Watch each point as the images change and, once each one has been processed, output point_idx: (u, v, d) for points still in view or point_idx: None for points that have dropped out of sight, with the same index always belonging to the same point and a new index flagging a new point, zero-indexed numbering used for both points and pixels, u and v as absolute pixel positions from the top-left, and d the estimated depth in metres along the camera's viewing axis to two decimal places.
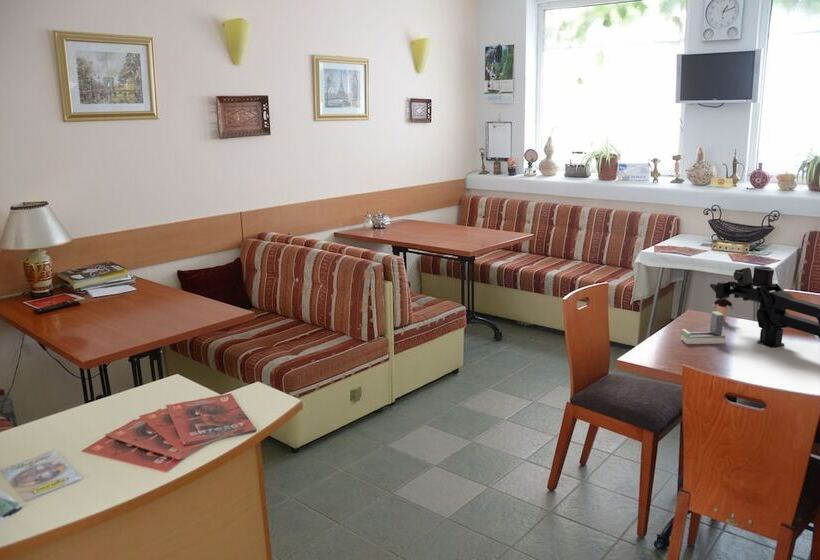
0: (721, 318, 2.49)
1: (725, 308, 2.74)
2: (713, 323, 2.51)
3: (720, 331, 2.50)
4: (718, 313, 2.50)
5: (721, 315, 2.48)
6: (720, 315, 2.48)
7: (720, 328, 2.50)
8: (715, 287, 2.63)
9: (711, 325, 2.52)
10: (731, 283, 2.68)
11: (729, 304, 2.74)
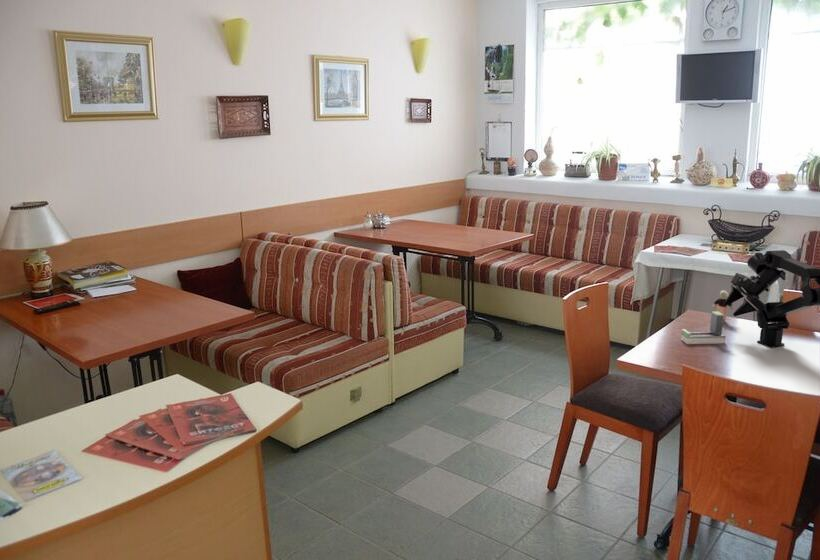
0: (721, 318, 2.49)
1: (725, 308, 2.74)
2: (713, 323, 2.51)
3: (720, 331, 2.50)
4: (718, 313, 2.50)
5: (721, 315, 2.48)
6: (720, 315, 2.48)
7: (720, 328, 2.50)
8: (742, 310, 2.48)
9: (711, 325, 2.52)
10: (728, 301, 2.58)
11: (729, 304, 2.74)
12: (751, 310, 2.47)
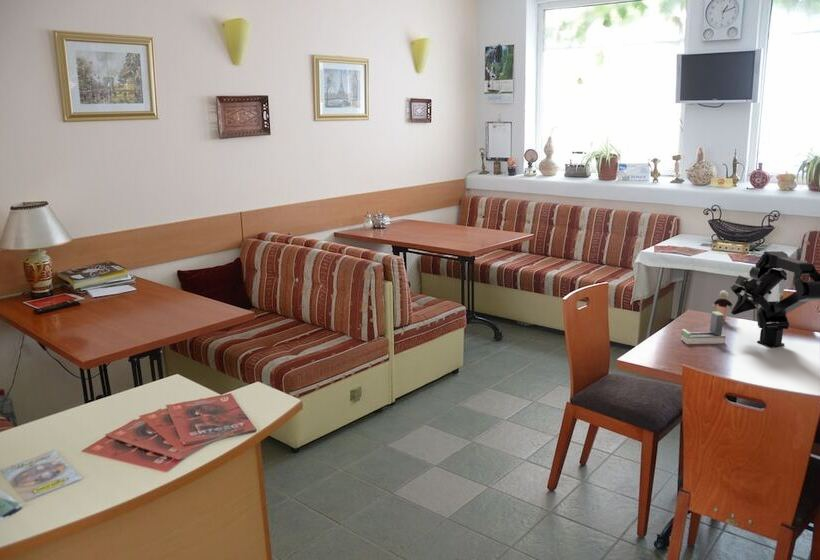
0: (721, 318, 2.49)
1: (725, 308, 2.74)
2: (713, 323, 2.51)
3: (720, 331, 2.50)
4: (718, 313, 2.50)
5: (721, 315, 2.48)
6: (720, 315, 2.48)
7: (720, 328, 2.50)
8: (741, 308, 2.49)
9: (711, 325, 2.52)
10: None
11: (729, 304, 2.74)
12: (750, 308, 2.48)
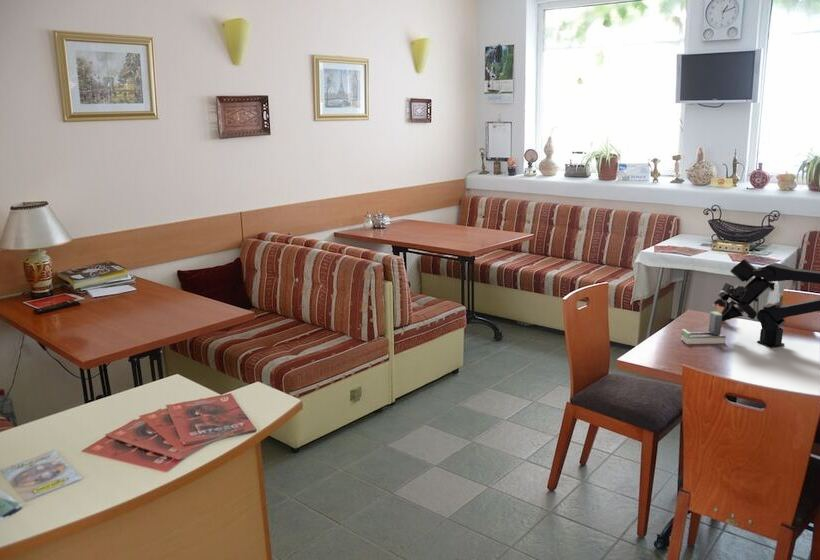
0: (720, 318, 2.49)
1: None
2: (711, 323, 2.51)
3: (719, 331, 2.50)
4: (717, 313, 2.50)
5: (720, 315, 2.48)
6: (719, 315, 2.48)
7: (719, 328, 2.50)
8: (728, 315, 2.50)
9: (710, 325, 2.52)
10: (722, 317, 2.51)
11: None
12: (736, 315, 2.49)
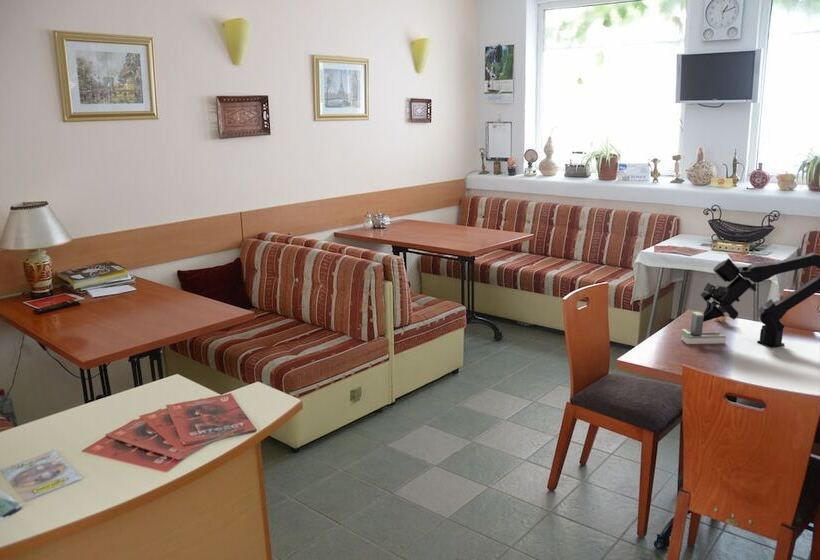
0: (701, 318, 2.48)
1: None
2: (693, 323, 2.51)
3: (700, 331, 2.49)
4: (698, 313, 2.49)
5: (701, 315, 2.48)
6: (700, 315, 2.48)
7: (700, 328, 2.49)
8: (710, 315, 2.49)
9: (692, 325, 2.52)
10: (704, 317, 2.51)
11: None
12: (718, 315, 2.48)
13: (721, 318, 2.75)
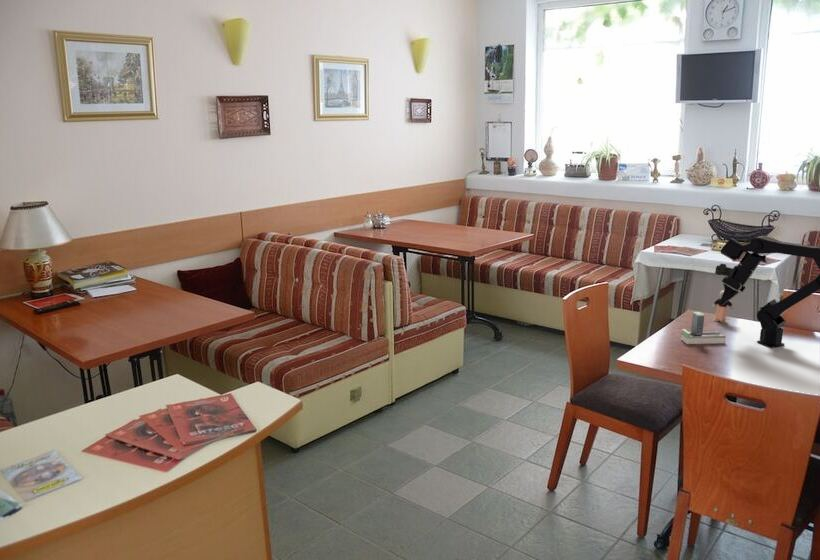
0: (702, 318, 2.48)
1: (725, 308, 2.74)
2: (694, 323, 2.51)
3: (701, 331, 2.49)
4: (699, 313, 2.49)
5: (702, 315, 2.48)
6: (701, 315, 2.48)
7: (701, 328, 2.49)
8: (726, 295, 2.52)
9: (692, 325, 2.52)
10: None
11: (729, 304, 2.74)
12: (733, 294, 2.50)
13: (721, 318, 2.75)
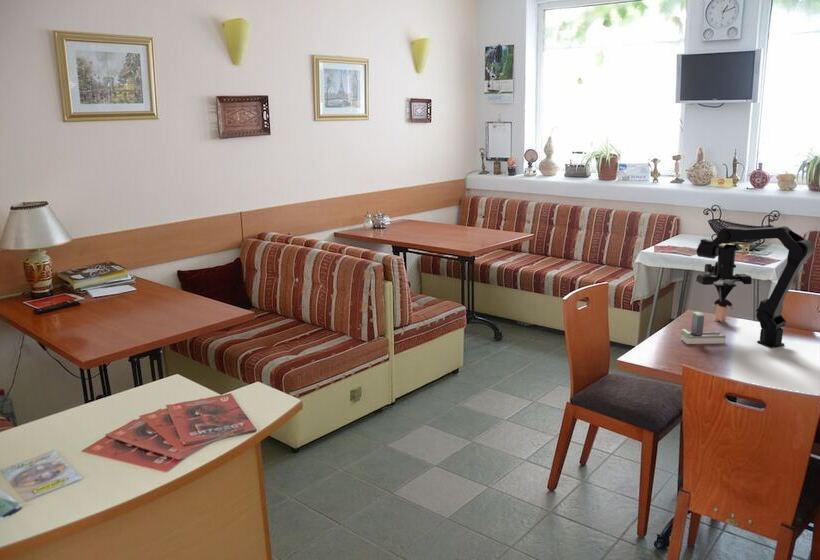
0: (702, 318, 2.48)
1: (725, 308, 2.74)
2: (694, 323, 2.51)
3: (701, 331, 2.49)
4: (699, 313, 2.49)
5: (702, 315, 2.48)
6: (701, 315, 2.48)
7: (701, 328, 2.49)
8: (719, 292, 2.59)
9: (692, 325, 2.52)
10: None
11: (729, 304, 2.74)
12: (720, 288, 2.57)
13: (721, 318, 2.75)
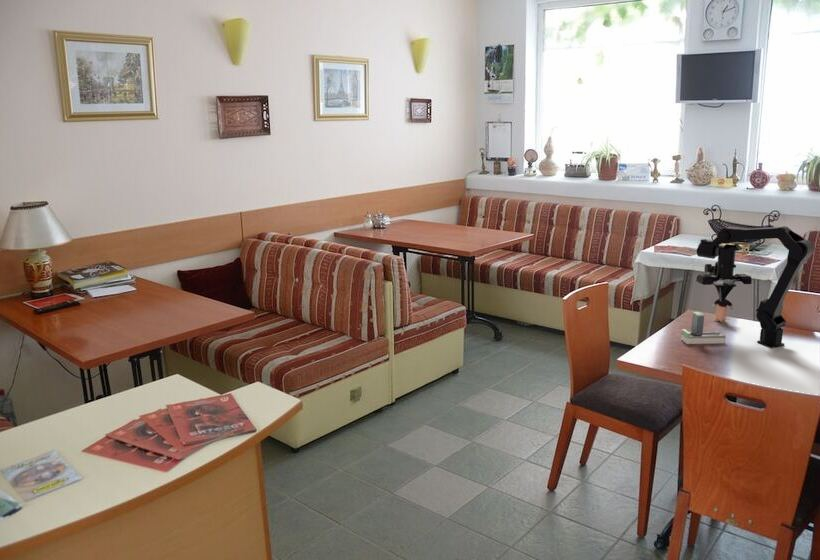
0: (702, 318, 2.48)
1: (725, 308, 2.74)
2: (694, 323, 2.51)
3: (701, 331, 2.49)
4: (699, 313, 2.49)
5: (702, 315, 2.48)
6: (701, 315, 2.48)
7: (701, 328, 2.49)
8: (719, 292, 2.59)
9: (692, 325, 2.52)
10: None
11: (729, 304, 2.74)
12: (720, 288, 2.57)
13: (721, 318, 2.75)
